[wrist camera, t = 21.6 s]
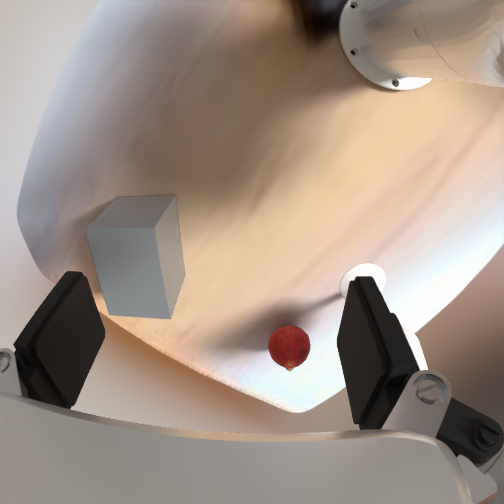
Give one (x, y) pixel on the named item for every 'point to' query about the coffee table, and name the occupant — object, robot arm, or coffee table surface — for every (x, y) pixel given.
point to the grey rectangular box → (138, 255)
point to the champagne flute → (380, 281)
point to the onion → (289, 346)
